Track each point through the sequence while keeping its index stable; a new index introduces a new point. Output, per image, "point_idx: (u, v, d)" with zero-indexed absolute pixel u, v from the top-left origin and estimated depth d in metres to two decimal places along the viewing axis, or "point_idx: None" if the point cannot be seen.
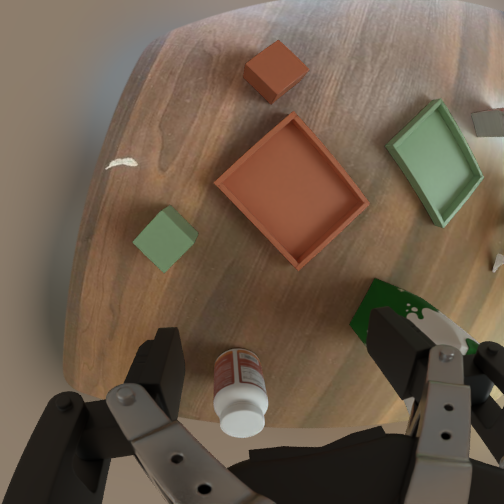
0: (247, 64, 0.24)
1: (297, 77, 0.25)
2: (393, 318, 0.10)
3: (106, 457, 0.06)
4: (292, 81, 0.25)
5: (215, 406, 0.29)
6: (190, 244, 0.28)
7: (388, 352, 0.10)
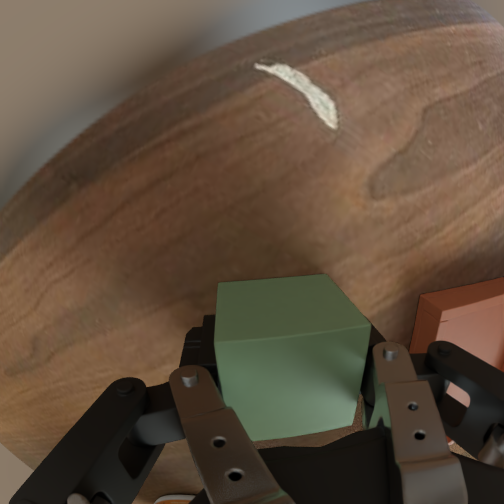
0: None
1: None
2: None
3: (163, 442, 0.07)
4: None
5: None
6: (343, 425, 0.09)
7: None
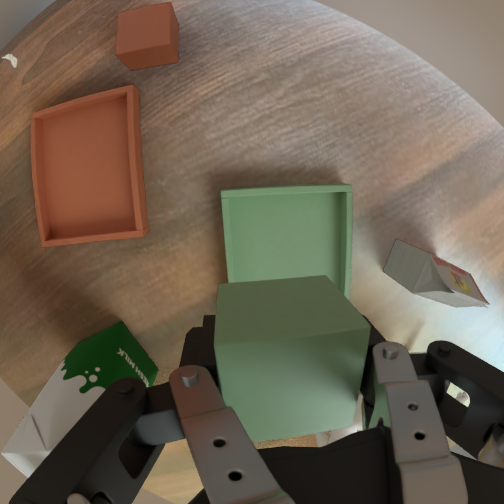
0: (119, 14, 0.16)
1: (149, 46, 0.17)
2: None
3: (164, 442, 0.07)
4: (140, 48, 0.17)
5: None
6: (342, 426, 0.09)
7: None
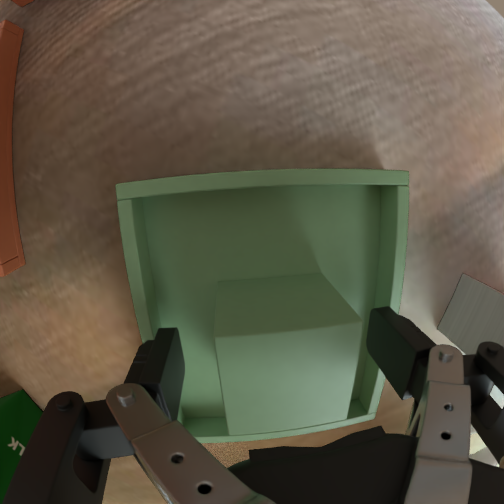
0: None
1: None
2: (392, 318, 0.10)
3: (106, 457, 0.06)
4: None
5: None
6: (337, 419, 0.10)
7: (388, 352, 0.10)
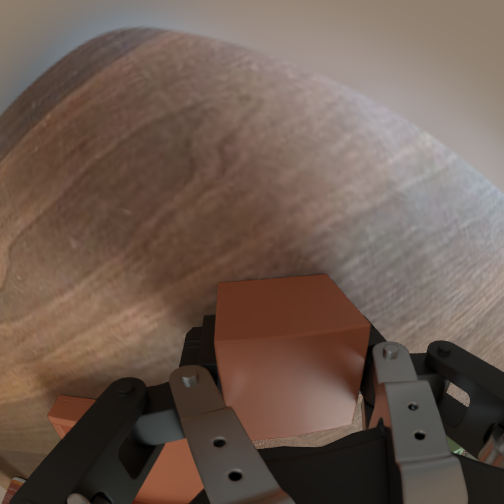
0: (218, 349, 0.08)
1: (310, 432, 0.09)
2: None
3: (164, 442, 0.07)
4: (290, 434, 0.09)
5: None
6: None
7: None
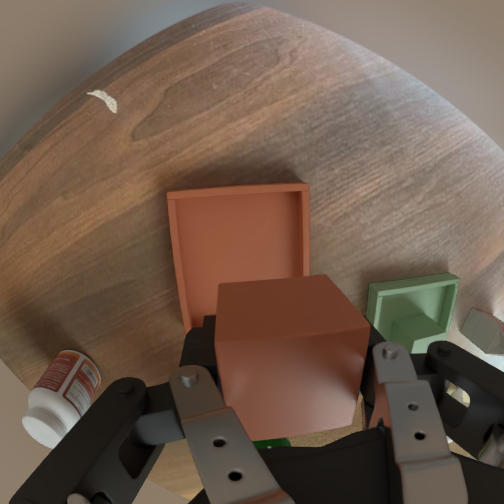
0: (219, 350, 0.08)
1: (310, 432, 0.09)
2: None
3: (164, 442, 0.07)
4: (290, 435, 0.09)
5: (29, 397, 0.20)
6: None
7: None
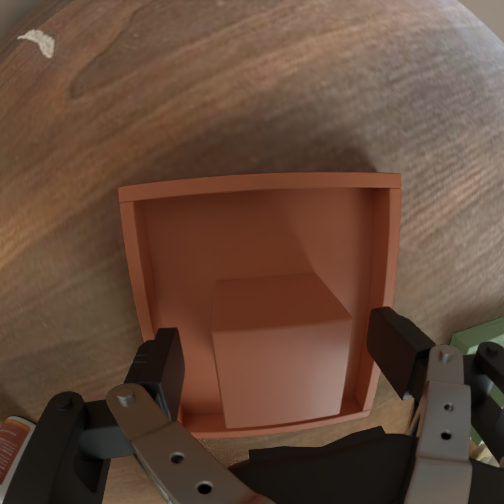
0: (215, 339, 0.09)
1: (300, 419, 0.10)
2: (393, 318, 0.10)
3: (106, 457, 0.06)
4: (282, 422, 0.10)
5: None
6: None
7: (388, 352, 0.10)
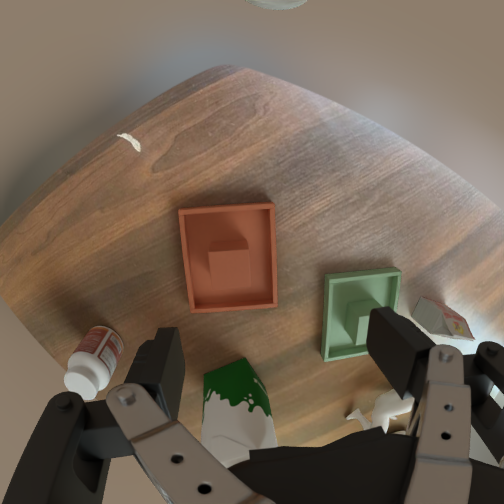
0: (209, 254, 0.32)
1: (236, 287, 0.33)
2: (393, 318, 0.10)
3: (106, 457, 0.06)
4: (230, 287, 0.33)
5: (70, 359, 0.31)
6: None
7: (388, 352, 0.10)
